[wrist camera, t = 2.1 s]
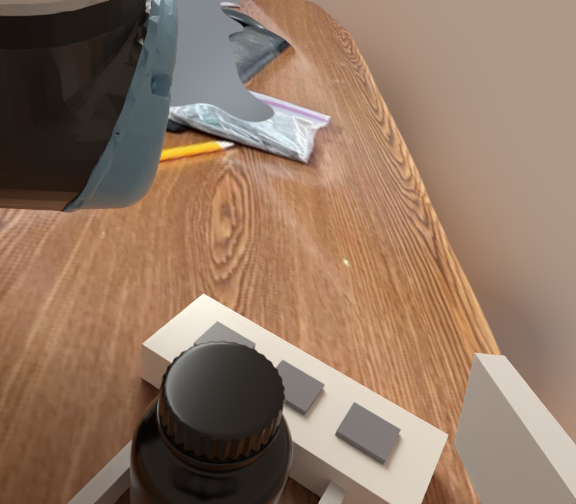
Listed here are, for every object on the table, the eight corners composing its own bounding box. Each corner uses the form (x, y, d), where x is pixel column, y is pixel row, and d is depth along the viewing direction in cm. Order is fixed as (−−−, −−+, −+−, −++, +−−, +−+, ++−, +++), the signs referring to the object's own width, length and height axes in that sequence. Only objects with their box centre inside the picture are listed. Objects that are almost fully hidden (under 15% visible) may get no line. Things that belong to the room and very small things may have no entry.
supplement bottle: (278, 592, 26) (336, 457, 18) (131, 627, 24) (132, 489, 16) (249, 462, 31) (286, 317, 24) (126, 481, 29) (126, 327, 21)
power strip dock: (0, 501, 27) (-11, 463, 24) (199, 325, 38) (203, 289, 36) (306, 765, 21) (327, 744, 19) (429, 464, 33) (450, 431, 31)
